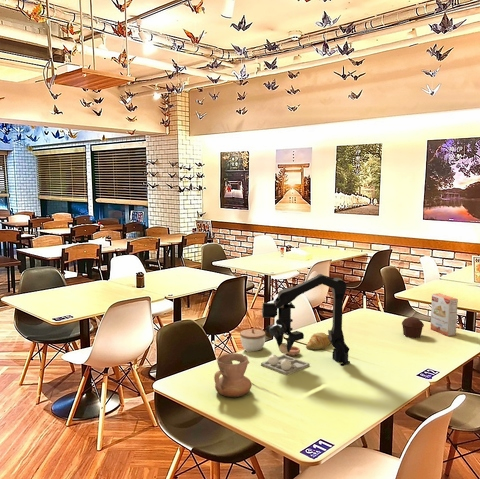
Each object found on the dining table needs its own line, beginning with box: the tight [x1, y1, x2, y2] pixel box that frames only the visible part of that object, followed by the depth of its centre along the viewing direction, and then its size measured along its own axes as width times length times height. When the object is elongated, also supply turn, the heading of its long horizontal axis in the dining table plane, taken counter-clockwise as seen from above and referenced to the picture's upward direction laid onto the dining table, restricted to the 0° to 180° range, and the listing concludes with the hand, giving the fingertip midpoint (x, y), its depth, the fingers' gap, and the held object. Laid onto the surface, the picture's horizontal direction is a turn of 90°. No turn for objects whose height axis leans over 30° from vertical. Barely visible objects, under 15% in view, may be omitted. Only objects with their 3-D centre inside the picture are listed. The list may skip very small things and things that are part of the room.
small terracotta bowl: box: [285, 345, 301, 357], centre depth 221 cm, size 7×7×4 cm
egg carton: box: [260, 354, 310, 376], centre depth 207 cm, size 16×16×2 cm
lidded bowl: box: [240, 328, 266, 353], centre depth 229 cm, size 13×13×11 cm
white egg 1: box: [267, 354, 279, 366], centre depth 207 cm, size 5×5×5 cm
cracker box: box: [430, 293, 459, 337], centre depth 256 cm, size 14×6×21 cm, turn 17°
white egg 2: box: [281, 359, 291, 370], centre depth 201 cm, size 5×5×5 cm
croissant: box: [305, 332, 331, 350], centre depth 236 cm, size 21×10×8 cm, turn 136°
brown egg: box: [278, 342, 288, 355], centre depth 211 cm, size 5×5×5 cm
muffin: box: [401, 316, 425, 339], centre depth 251 cm, size 12×11×10 cm
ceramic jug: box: [213, 352, 252, 398], centre depth 181 cm, size 18×14×14 cm
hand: (284, 350), depth 212 cm, fingers closed on brown egg, 5 cm apart
